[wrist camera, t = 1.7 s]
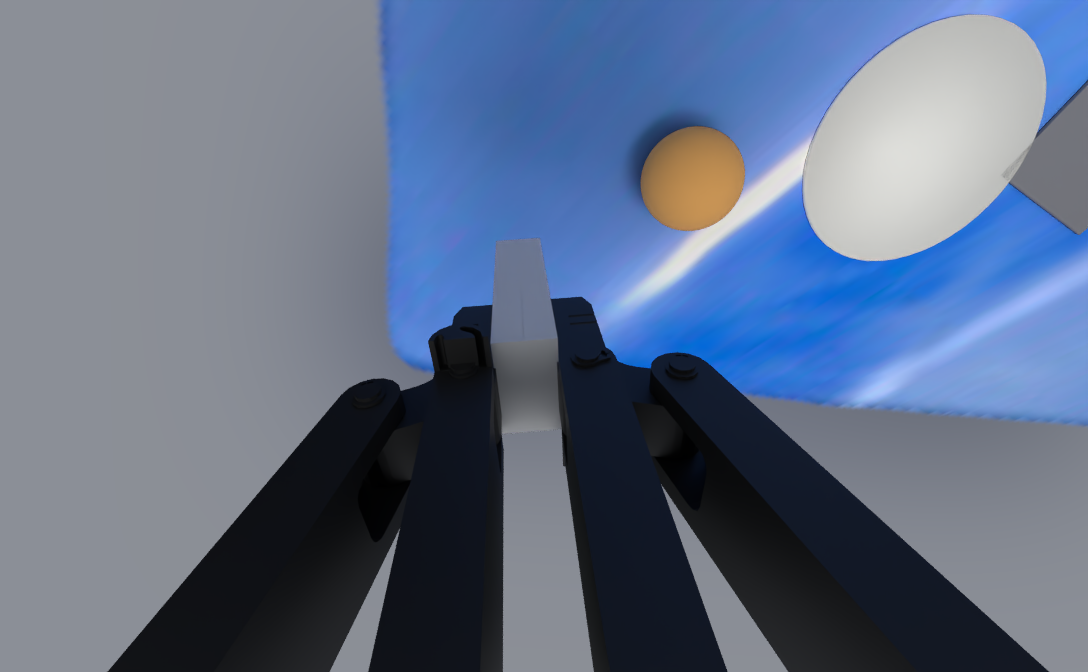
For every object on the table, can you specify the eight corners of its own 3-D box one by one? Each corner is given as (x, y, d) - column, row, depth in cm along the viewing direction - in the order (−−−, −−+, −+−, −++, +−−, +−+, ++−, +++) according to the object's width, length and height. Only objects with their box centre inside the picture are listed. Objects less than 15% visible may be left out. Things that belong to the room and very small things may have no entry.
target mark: (1038, -50, 23) (1042, -51, 23) (1046, 185, 30) (1049, 186, 30) (773, 117, 27) (775, 117, 27) (832, 295, 33) (834, 296, 33)
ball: (700, 99, 26) (741, 110, 21) (734, 182, 29) (777, 208, 24) (615, 156, 27) (636, 177, 23) (654, 230, 30) (681, 263, 25)
